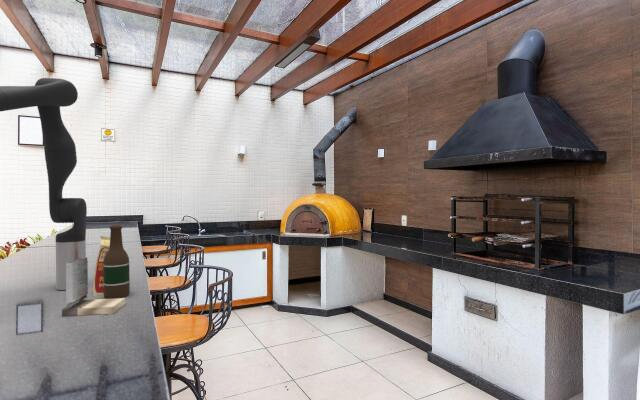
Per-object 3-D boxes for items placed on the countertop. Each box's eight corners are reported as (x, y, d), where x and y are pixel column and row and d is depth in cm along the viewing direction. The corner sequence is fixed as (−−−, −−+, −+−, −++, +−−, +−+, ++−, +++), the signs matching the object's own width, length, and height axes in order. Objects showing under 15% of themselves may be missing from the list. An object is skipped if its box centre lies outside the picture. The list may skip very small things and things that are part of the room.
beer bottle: (134, 294, 124) (134, 224, 124) (113, 300, 117) (112, 226, 117) (119, 292, 128) (118, 224, 128) (98, 297, 121) (97, 225, 120)
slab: (66, 307, 102) (65, 262, 102) (82, 298, 111) (81, 257, 111) (72, 307, 102) (72, 262, 102) (87, 298, 111) (87, 257, 111)
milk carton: (93, 296, 123) (92, 237, 123) (95, 289, 131) (94, 234, 131) (123, 292, 127) (123, 235, 127) (124, 286, 135) (123, 233, 135)
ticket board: (61, 316, 102) (61, 309, 102) (77, 306, 111) (77, 300, 111) (113, 313, 104) (113, 306, 104) (125, 304, 113) (125, 297, 113)
